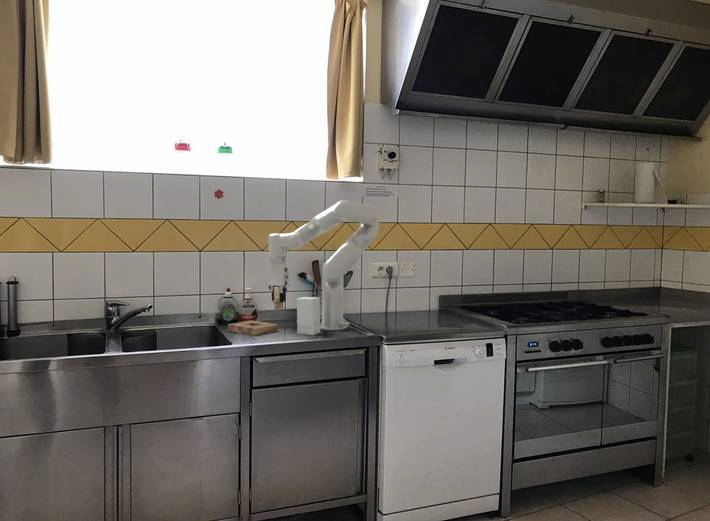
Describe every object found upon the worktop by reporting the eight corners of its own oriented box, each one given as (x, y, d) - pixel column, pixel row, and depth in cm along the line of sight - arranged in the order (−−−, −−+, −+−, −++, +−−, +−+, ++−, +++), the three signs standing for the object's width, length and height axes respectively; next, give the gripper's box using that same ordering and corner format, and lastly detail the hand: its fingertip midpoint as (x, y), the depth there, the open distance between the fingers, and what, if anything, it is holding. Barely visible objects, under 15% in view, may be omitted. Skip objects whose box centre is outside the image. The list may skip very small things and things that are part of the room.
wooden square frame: (277, 331, 262) (277, 324, 261) (255, 335, 250) (255, 328, 250) (251, 327, 271) (251, 320, 271) (228, 331, 259) (228, 324, 259)
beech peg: (285, 308, 270) (285, 286, 269) (279, 309, 266) (278, 287, 266) (278, 307, 272) (277, 285, 272) (272, 308, 269) (271, 286, 268)
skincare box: (320, 333, 258) (321, 297, 257) (313, 335, 252) (313, 299, 251) (303, 331, 262) (304, 296, 261) (296, 334, 256) (296, 297, 255)
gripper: (297, 260, 266) (298, 301, 268) (269, 259, 276) (270, 299, 277) (286, 261, 260) (287, 303, 261) (258, 260, 270) (259, 301, 271)
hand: (278, 300), depth 269 cm, fingers closed on beech peg, 4 cm apart
